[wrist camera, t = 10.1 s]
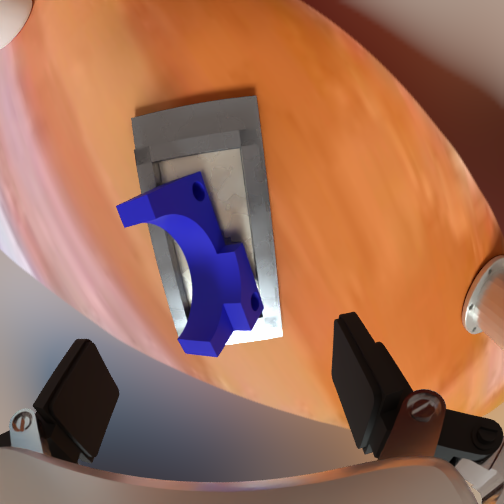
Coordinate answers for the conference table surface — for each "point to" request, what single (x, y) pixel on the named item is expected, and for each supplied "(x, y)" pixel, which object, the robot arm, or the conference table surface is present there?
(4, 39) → the pill bottle
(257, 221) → the grey rectangular tray
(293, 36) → the conference table surface
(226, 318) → the cable clip
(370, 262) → the conference table surface
